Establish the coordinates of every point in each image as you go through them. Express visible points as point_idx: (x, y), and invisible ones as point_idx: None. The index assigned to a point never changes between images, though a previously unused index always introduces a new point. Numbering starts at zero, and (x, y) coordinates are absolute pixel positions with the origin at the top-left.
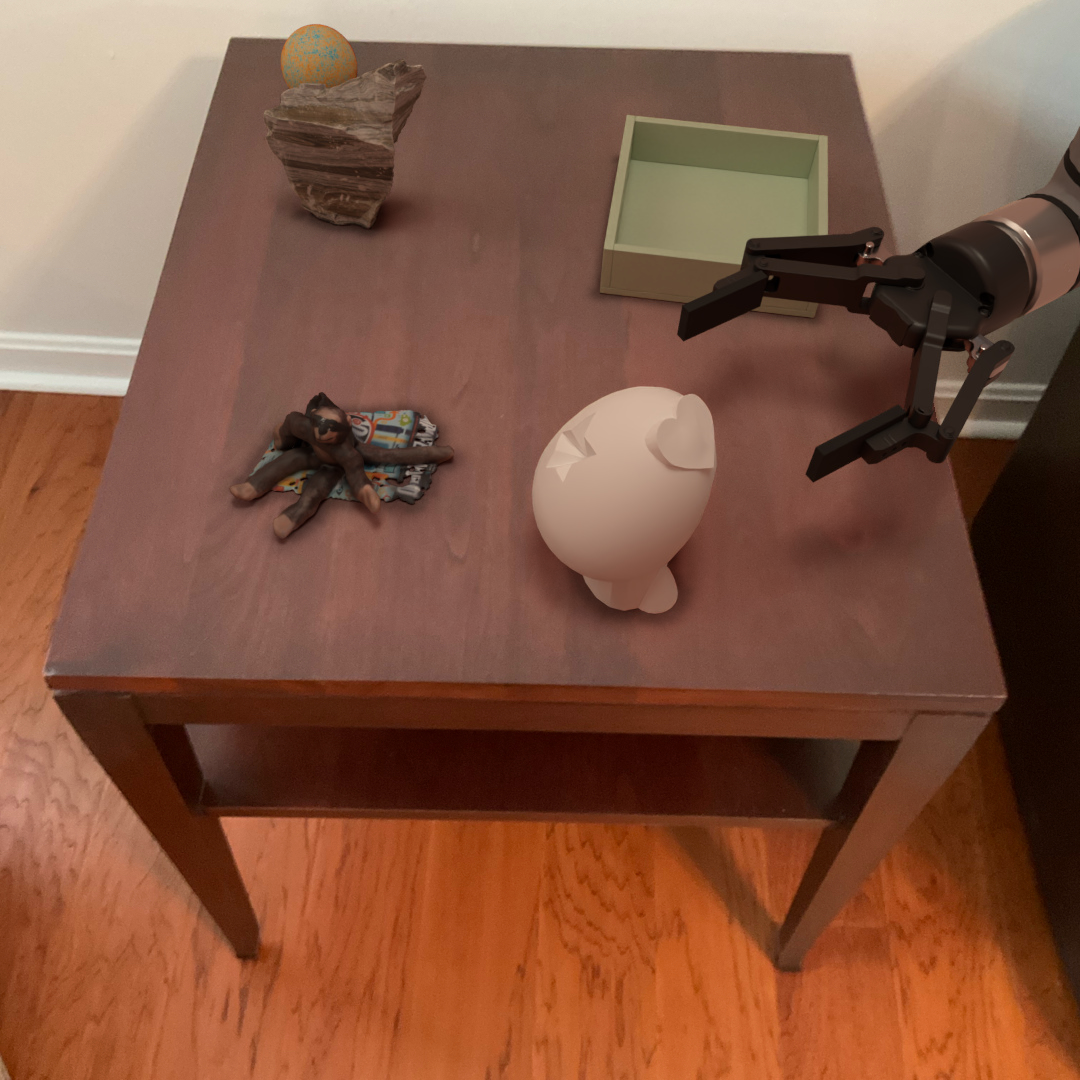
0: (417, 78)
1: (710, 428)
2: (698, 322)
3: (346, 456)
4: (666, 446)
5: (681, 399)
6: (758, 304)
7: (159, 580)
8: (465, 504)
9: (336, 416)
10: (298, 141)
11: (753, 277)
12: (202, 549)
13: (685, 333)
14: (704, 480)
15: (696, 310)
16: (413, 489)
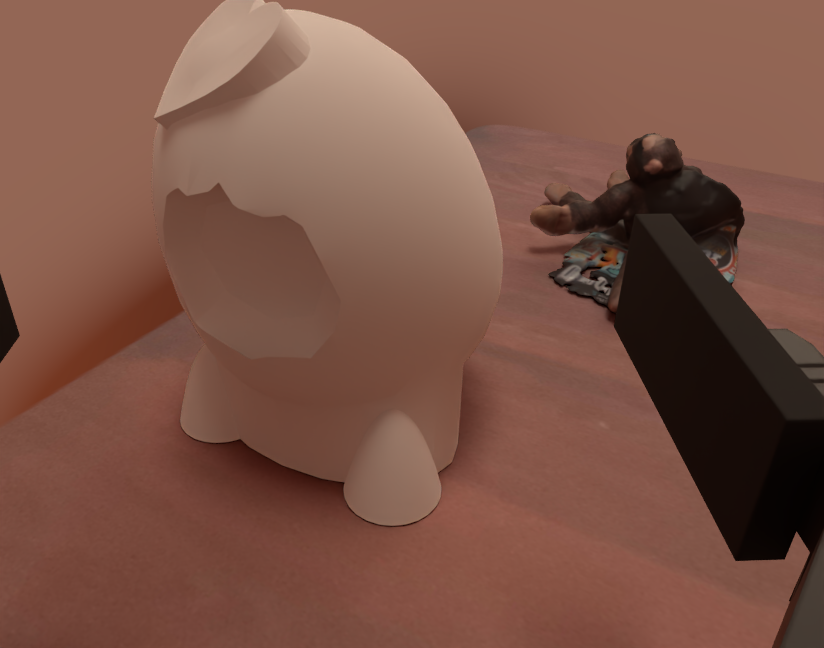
0: None
1: (212, 85)
2: (637, 299)
3: (611, 187)
4: (217, 16)
5: (277, 5)
6: (735, 538)
7: (541, 156)
8: (523, 310)
9: (651, 143)
10: None
11: (785, 376)
12: (564, 174)
13: (620, 299)
14: (159, 137)
15: (642, 233)
16: (570, 276)
